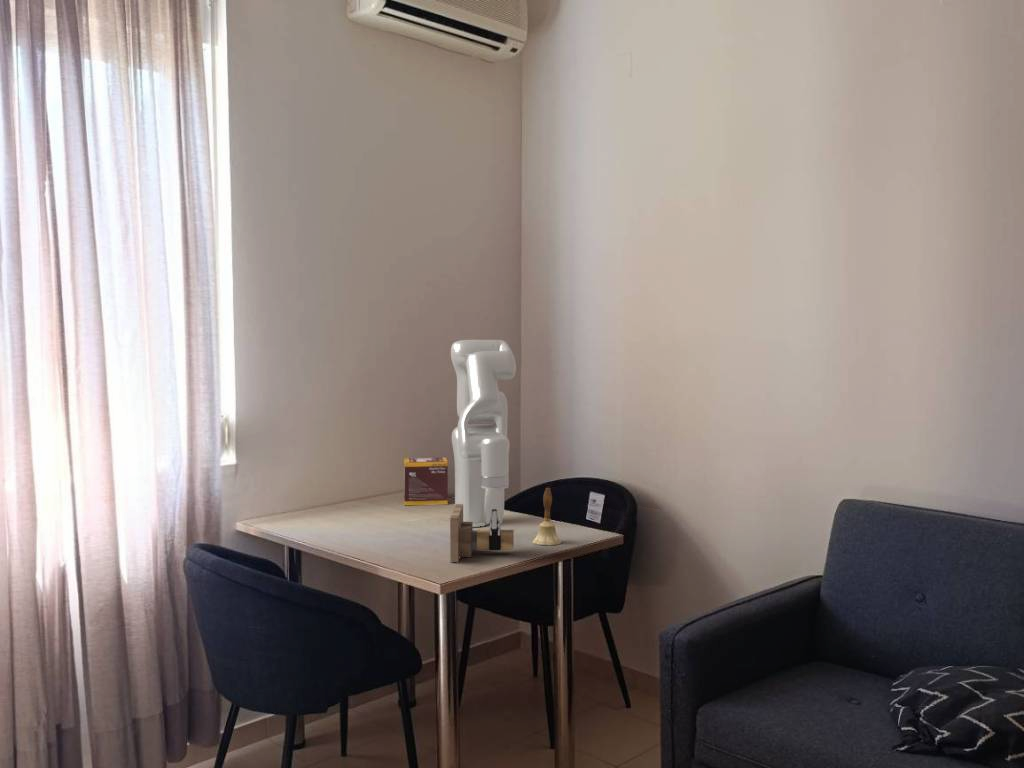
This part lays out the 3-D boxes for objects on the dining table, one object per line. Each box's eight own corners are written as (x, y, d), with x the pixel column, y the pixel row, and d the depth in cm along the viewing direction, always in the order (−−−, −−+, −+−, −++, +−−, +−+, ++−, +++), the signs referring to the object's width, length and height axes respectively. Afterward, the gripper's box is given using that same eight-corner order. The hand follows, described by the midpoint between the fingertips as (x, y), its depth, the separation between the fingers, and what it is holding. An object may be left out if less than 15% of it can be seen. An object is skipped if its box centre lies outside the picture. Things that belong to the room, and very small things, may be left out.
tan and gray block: (463, 547, 261) (463, 529, 260) (513, 547, 260) (513, 529, 260) (462, 550, 257) (462, 532, 257) (513, 550, 257) (513, 532, 257)
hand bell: (541, 538, 278) (541, 484, 277) (566, 541, 274) (566, 487, 273) (527, 543, 271) (527, 488, 270) (552, 547, 267) (552, 491, 266)
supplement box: (448, 504, 332) (448, 461, 331) (404, 506, 330) (404, 461, 329) (446, 499, 342) (446, 457, 341) (403, 500, 340) (403, 457, 339)
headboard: (456, 545, 269) (456, 503, 268) (473, 545, 269) (473, 503, 268) (450, 562, 249) (450, 517, 248) (469, 562, 249) (469, 518, 248)
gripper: (482, 477, 266) (483, 541, 267) (479, 487, 249) (480, 555, 251) (509, 477, 266) (509, 541, 267) (507, 487, 249) (508, 555, 250)
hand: (495, 547), depth 259 cm, fingers closed on tan and gray block, 3 cm apart
